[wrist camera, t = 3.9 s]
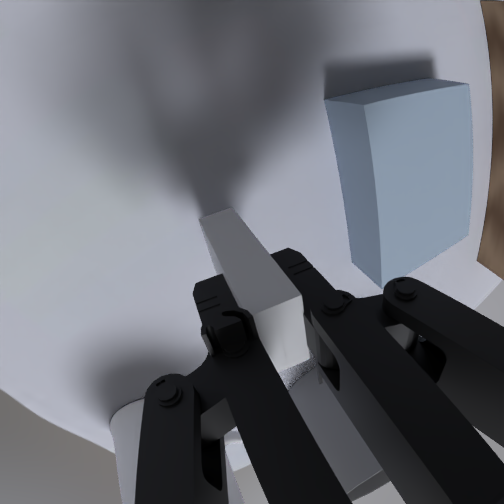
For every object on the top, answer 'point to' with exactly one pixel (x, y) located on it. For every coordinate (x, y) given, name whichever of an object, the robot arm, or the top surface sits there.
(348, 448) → the cup
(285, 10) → the top surface
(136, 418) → the mug
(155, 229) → the top surface
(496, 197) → the brown wooden bar
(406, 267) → the block
